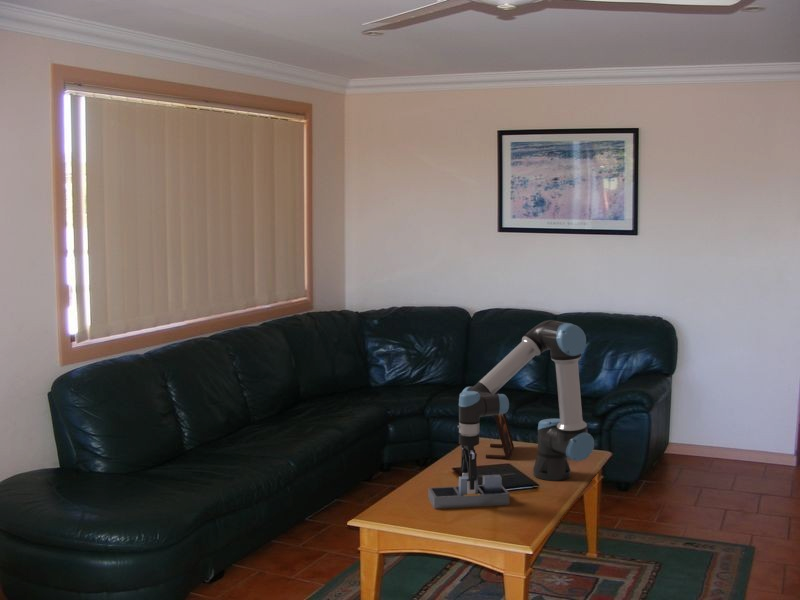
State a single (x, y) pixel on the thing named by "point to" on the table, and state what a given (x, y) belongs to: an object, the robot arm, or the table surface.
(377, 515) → the table surface
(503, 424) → the picture frame
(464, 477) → the block
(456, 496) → the rack
